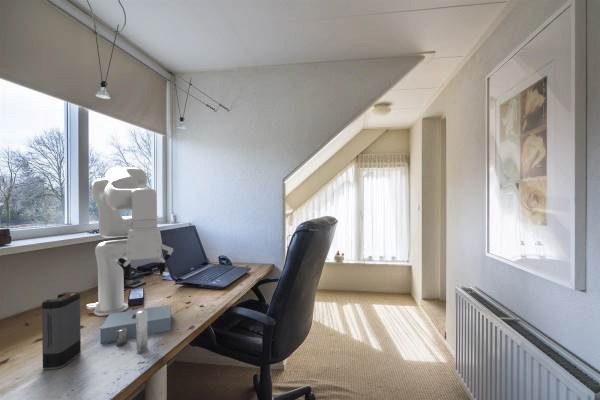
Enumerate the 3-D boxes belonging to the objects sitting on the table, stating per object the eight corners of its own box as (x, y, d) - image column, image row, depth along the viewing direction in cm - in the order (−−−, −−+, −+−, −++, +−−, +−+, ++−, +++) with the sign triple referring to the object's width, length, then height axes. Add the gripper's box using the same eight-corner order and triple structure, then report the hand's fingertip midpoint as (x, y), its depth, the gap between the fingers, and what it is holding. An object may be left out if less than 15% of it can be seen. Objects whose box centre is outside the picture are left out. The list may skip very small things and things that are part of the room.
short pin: (115, 347, 93) (115, 332, 93) (117, 343, 96) (117, 328, 96) (126, 345, 94) (126, 330, 94) (127, 341, 97) (127, 326, 97)
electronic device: (63, 353, 90) (63, 292, 90) (83, 352, 91) (82, 291, 91) (39, 370, 81) (38, 302, 81) (61, 369, 81) (60, 301, 81)
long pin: (135, 354, 89) (135, 314, 89) (137, 349, 92) (136, 310, 92) (147, 352, 90) (146, 312, 90) (148, 347, 93) (147, 309, 93)
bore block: (100, 343, 96) (100, 328, 96) (109, 326, 109) (109, 313, 109) (170, 330, 105) (169, 317, 105) (171, 316, 118) (170, 304, 118)
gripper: (111, 227, 87) (112, 281, 86) (172, 224, 93) (173, 275, 93) (117, 225, 94) (118, 276, 93) (173, 223, 100) (174, 270, 100)
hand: (145, 275), depth 93 cm, fingers open, 9 cm apart
